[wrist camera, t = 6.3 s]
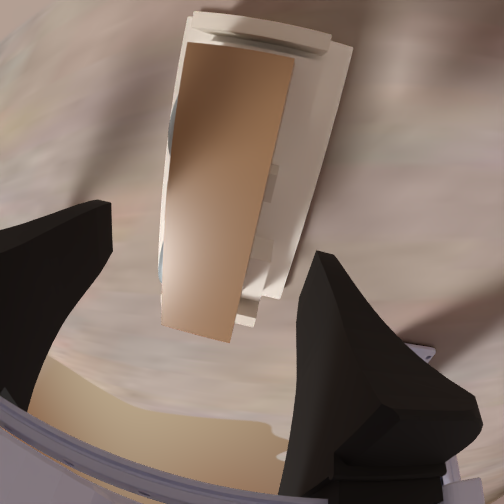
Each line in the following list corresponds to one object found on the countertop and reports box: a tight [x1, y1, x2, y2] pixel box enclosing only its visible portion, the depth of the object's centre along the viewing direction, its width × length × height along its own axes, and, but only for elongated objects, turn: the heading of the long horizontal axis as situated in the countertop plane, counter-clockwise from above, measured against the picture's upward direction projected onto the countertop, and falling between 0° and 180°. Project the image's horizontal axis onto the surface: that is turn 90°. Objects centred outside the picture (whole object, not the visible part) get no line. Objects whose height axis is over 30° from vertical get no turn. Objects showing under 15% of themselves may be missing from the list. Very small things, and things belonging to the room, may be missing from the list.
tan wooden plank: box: [158, 42, 295, 343], centre depth 14 cm, size 13×4×4 cm, turn 169°
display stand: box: [158, 11, 353, 327], centre depth 17 cm, size 17×9×4 cm, turn 169°
